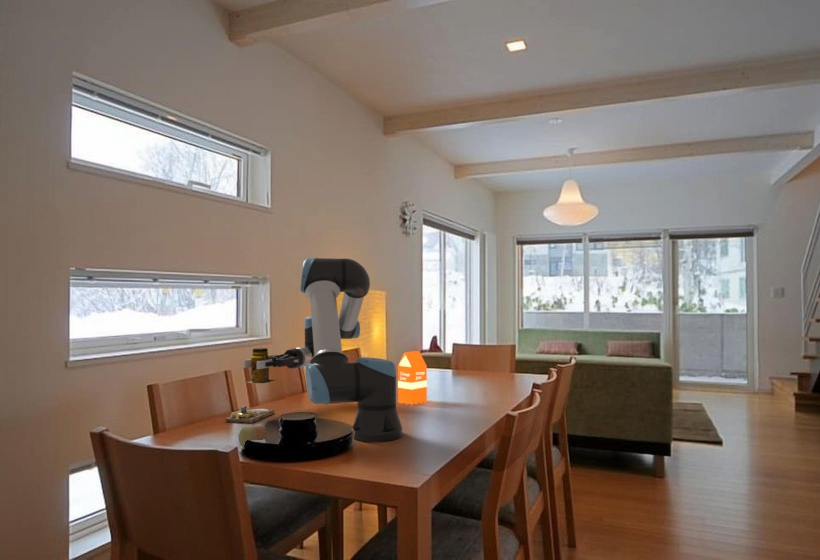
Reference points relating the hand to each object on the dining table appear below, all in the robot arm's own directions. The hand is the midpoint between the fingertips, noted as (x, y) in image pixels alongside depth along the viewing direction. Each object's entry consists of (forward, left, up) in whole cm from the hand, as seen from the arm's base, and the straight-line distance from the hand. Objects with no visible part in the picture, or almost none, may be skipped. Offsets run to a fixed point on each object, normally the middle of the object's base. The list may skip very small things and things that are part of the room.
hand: (250, 364), depth 191 cm
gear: (-3, +1, -17) cm, 18 cm away
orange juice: (+37, -50, -19) cm, 65 cm away
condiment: (+5, -2, -7) cm, 9 cm away
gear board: (0, 0, -19) cm, 19 cm away
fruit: (-36, -21, -19) cm, 45 cm away
